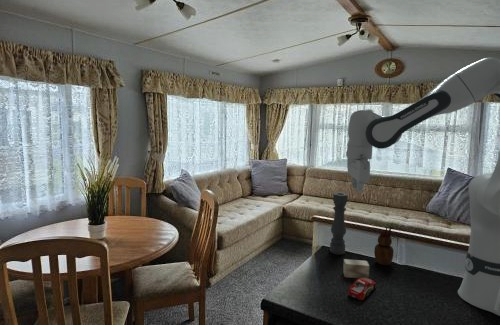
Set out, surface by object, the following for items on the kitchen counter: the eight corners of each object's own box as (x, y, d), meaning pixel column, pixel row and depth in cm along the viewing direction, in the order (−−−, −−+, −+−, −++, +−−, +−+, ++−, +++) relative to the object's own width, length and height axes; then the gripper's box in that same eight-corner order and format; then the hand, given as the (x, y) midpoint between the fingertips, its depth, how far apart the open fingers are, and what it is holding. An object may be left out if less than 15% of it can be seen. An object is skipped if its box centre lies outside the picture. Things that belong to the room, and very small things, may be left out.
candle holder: (327, 251, 130) (330, 194, 127) (333, 247, 134) (336, 191, 132) (341, 255, 126) (344, 196, 123) (347, 251, 130) (350, 194, 128)
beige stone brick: (365, 273, 111) (366, 260, 110) (368, 279, 107) (369, 265, 106) (343, 272, 112) (343, 259, 111) (344, 277, 108) (345, 263, 107)
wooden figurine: (392, 262, 121) (395, 225, 119) (392, 268, 115) (395, 230, 114) (374, 259, 123) (376, 223, 122) (373, 264, 118) (376, 227, 116)
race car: (361, 281, 105) (362, 270, 105) (377, 287, 102) (378, 276, 101) (344, 296, 96) (345, 284, 95) (361, 303, 92) (362, 291, 92)
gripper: (376, 156, 103) (373, 196, 105) (361, 151, 123) (359, 185, 125) (356, 156, 104) (354, 195, 106) (345, 151, 124) (343, 184, 126)
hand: (356, 190), depth 115 cm, fingers open, 6 cm apart
